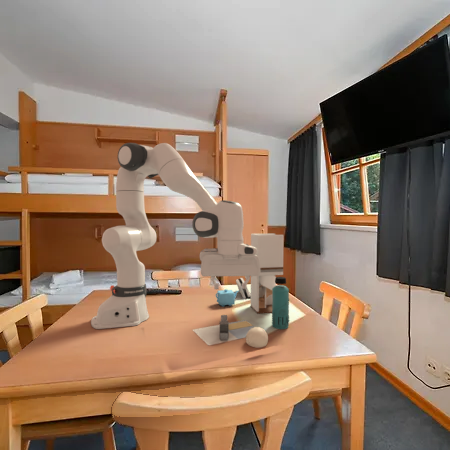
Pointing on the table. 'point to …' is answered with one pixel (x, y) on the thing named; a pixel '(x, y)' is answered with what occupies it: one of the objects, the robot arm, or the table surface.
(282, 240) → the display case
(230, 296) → the teapot
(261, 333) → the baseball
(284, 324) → the beverage bottle
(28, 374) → the table surface
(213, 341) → the door board
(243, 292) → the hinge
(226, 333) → the latch bar
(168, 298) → the table surface
